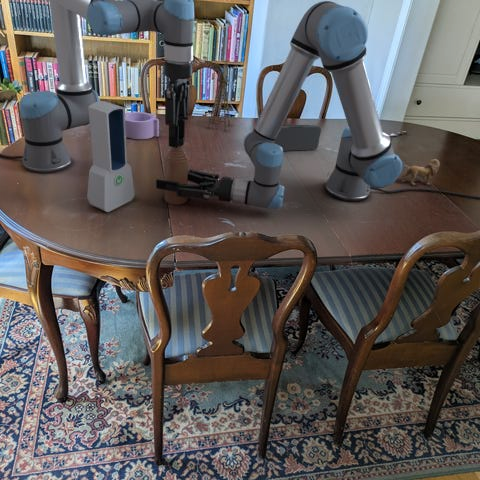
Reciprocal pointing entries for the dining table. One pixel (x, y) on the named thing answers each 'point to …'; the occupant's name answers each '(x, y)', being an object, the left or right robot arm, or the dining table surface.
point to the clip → (141, 125)
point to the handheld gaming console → (298, 137)
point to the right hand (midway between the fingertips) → (160, 178)
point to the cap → (181, 140)
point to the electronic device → (109, 158)
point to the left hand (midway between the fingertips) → (176, 143)
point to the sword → (395, 134)
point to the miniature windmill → (222, 80)
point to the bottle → (175, 172)
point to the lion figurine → (422, 171)
